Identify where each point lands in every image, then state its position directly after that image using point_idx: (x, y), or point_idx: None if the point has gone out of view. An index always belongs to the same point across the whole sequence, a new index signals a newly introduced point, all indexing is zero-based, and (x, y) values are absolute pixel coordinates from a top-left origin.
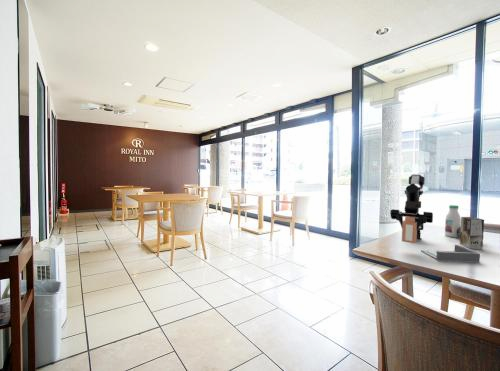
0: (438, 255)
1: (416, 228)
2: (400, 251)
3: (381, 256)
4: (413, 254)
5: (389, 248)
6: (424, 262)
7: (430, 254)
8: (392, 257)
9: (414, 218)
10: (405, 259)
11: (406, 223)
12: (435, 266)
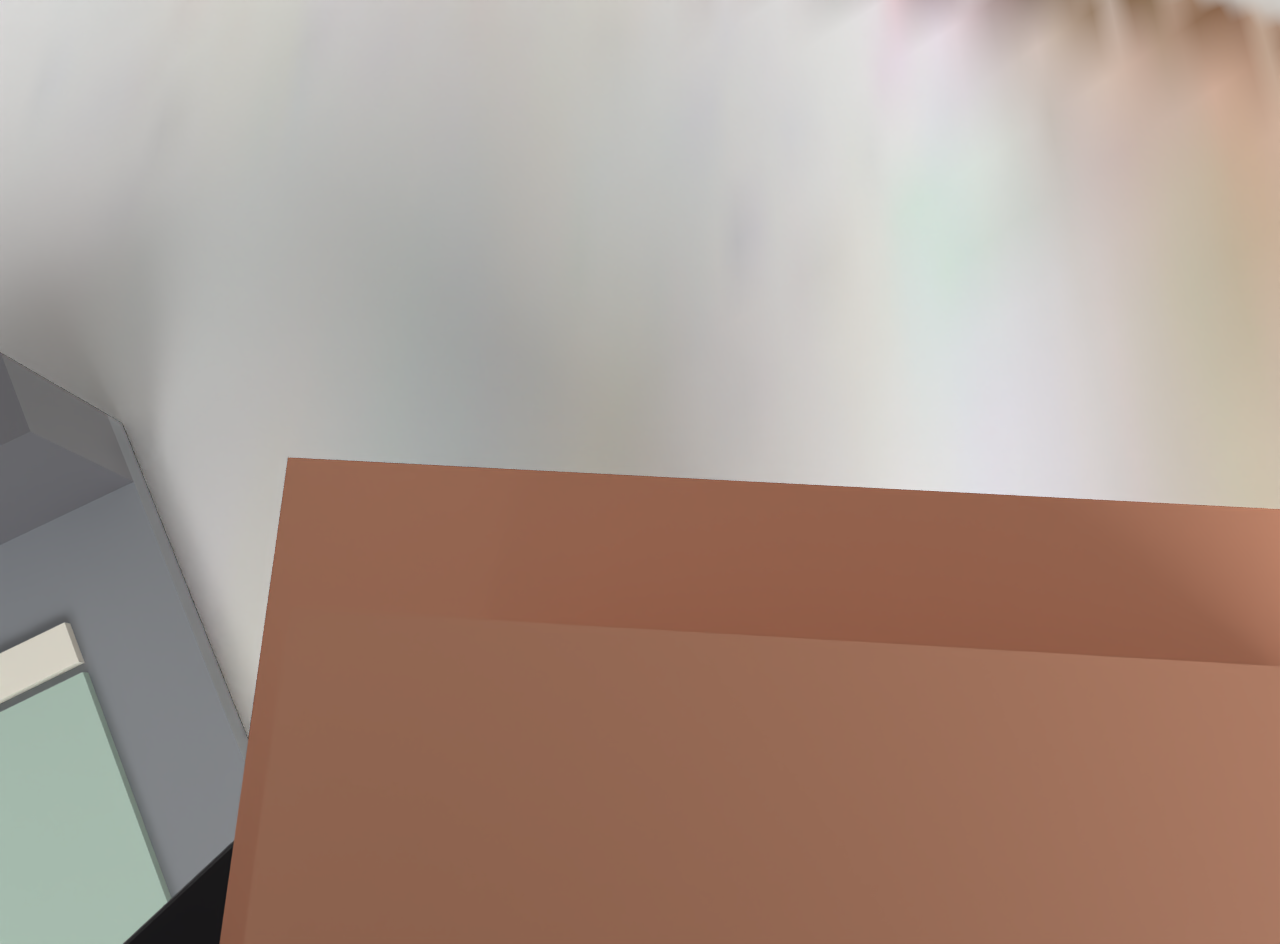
0: (53, 387)
1: None
2: None
3: (1242, 56)
4: None
5: None
6: (410, 147)
7: (212, 793)
8: (1023, 118)
9: (311, 653)
10: (764, 133)
11: (1117, 521)
12: (239, 14)
